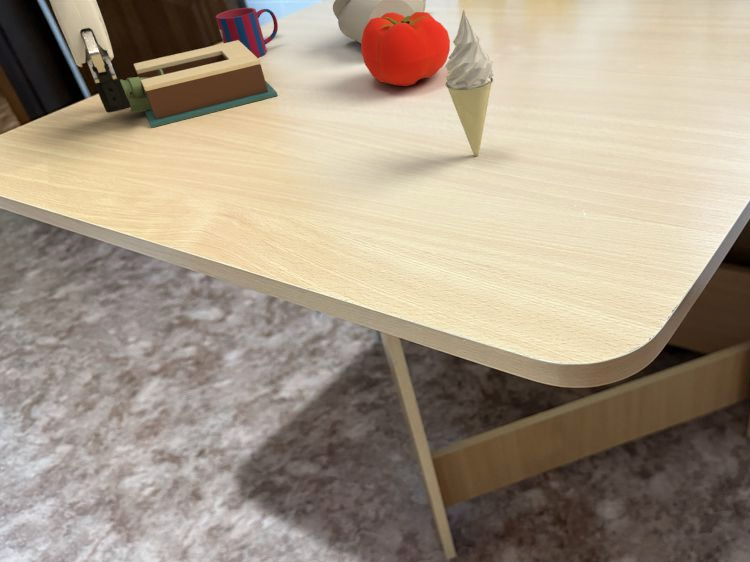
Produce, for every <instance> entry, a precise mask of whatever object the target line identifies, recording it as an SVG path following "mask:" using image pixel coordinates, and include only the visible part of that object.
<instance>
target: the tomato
mask: <svg viewBox="0 0 750 562" xmlns="http://www.w3.org/2000/svg"><path fill="white" fill-rule="evenodd" d="M360 47H361V48H360V49H361V56H362V60H363V62H364V65H365V67H366V68H367V69H368V72H369V73H370V75H371V76H372V77H373V78H374V79H376V80H377V81H378V82H381V83H384V84H389V85H394V86H399V87H408V86H409V87H410V86H412V85H416V83H417V82H418V81H419V80H422V79H423V80H424V79H427V78H432V77H433V76H435V74H437V72H439V71H440V70H441V69H442V67H444V66H445V65H446V63H447V60H448V58H449V55H450V50H451V40H450V36H449V32H448V29H446V28H445V27H444V25H443V24H442V23H441V22H439V21H438V20H436V19H435V18H434V16H433V15H431V13H429V12H426V11H425V12H415V13H414V14H413V15H411V16H407V17H404V16H403V15H400V14H397V13H386V14H384V15H383V16H381V17H380V18H379V17H378V18H373V19H371V20H370V21H369V22H368V24H367V25H366V27H365V29H364V31H363V36H362V40H361V43H360Z"/></svg>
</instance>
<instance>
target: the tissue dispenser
mask: <svg viewBox="0 0 750 562" xmlns="http://www.w3.org/2000/svg"><path fill="white" fill-rule="evenodd" d="M133 67H134V69H135V72H136V74H137V78H141V77H142V78H147V79H143V80H141V82H142V85H143V87H144V90H145V93H146V95H147V98H148V100H149V103H150V105H151V108H152V110H145V111H144V113H145V115H146V118H147V120H148V122H149V125H150V128H157V127H161V126H164V125H168V124H172V123H176V122H180V121H184V120H188V119H193V118H196V117H200V116H204V115H208V114H211V113H216V112H220V111H224V110H228V109H231V108H236V107H239V106H244V105H248V104H251V103H255V102H259V101H263V100H268V99H271V98H275V97H278V92H277V91H276V90H275V88H273V87H272V86H271V84H269V83H268V81H267V80H266V78H265V75H264V72H263V67H262V64H261V60H260V59H259V57H258V58H257V57H256V56H255V55H254V54H253V53H252V52H250V51H249V50H248V49H247V48H246V47H245V46H244V45H243V44H242V43H241V42H240V41H239V40H237V41H232V42H228V43H220V44H215V45H210V46H206V47H202V48H198V49H193V50H189V51H184V52H180V53H175V54H171V55H166V56H162V57H158V58H154V59H153V58H152V59H148V60H144V61H140V62H135V63H133ZM158 69H162V70H163V73H164V75H160V76H158Z"/></svg>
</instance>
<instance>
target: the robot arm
mask: <svg viewBox="0 0 750 562" xmlns="http://www.w3.org/2000/svg"><path fill="white" fill-rule="evenodd" d="M49 3H50V5H51V8H52V11H53V13H54V15H55V18H56V20H57V22H58V25H59V27H60V30H61V31H62V34H63V36H64V39H65V41H66V44H67V45H68V48H69V50H70V53H71V55H72V57H73V60H74V62H75V65H76V66H78V67H80V68H83V67H84V65H83V64H87V66H88V68H89V70H90V73H91V76H92V78H93V80H94V82H93V84H94V87H95V89H96V91H97V94H98V97H99V98H100V101H101V103H102V105H103V107H104V110H105V112H106V113H108V114H109V113H110V114H111V113H113V112H120V111H123V110H127V109H130V104H129V101H128V99H127V96H126V94H125V91H124V89H123V86H122V84H121V81H120V80H121V76H120V75H119V72H118V69H117V67H116V65H115V61H114V60H113V59H114V58H115V55H114V51H113V47H112V43H111V39H110V36H109V33H108V30H107V26H106V24H105V21H104V18H103V15H102V13H101V9H100V7H99V5H98V2H97V0H49Z"/></svg>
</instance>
